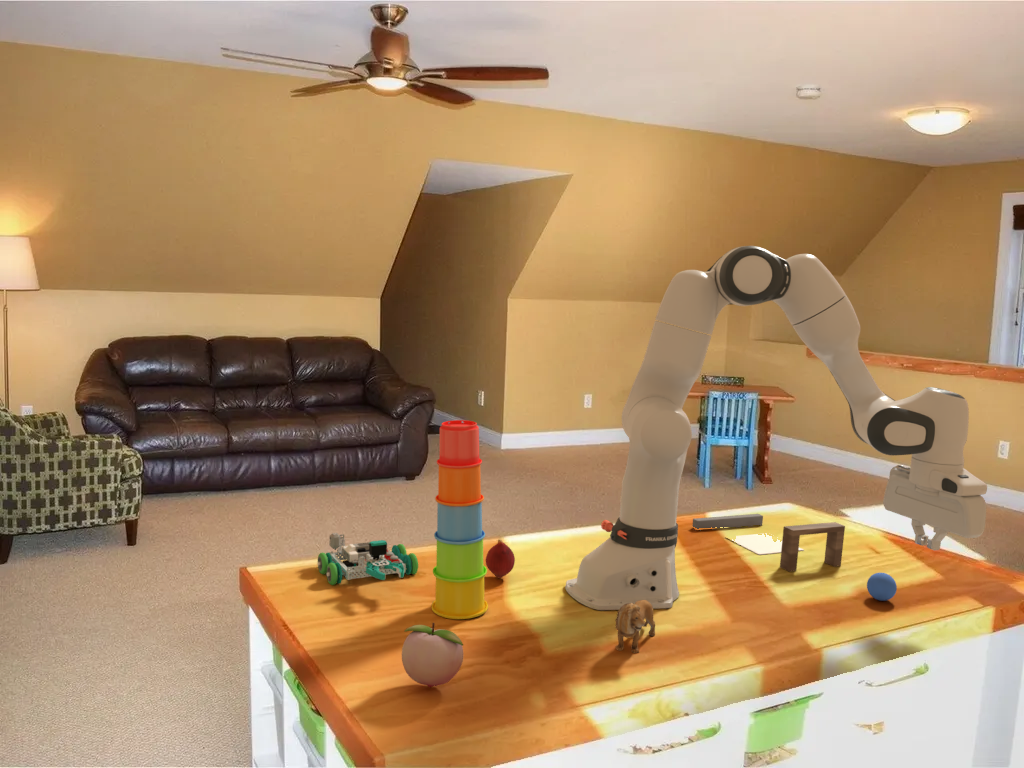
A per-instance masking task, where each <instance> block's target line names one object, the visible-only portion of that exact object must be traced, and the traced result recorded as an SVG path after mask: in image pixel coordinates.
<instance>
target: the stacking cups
mask: <svg viewBox="0 0 1024 768" xmlns="http://www.w3.org/2000/svg"><path fill="white" fill-rule="evenodd" d="M477 424H478V423H477V422H476V421H472V420H466V419H455V420H453V419H452V420H447V421H444V422H442V423H441V425H440V427H439V459H437V460H436V464H437V465H438V484H437V486H438V490H437V491H438V494H437V495H436V496H435V497H434V500H435V502H437V524H436V525H437V526H436V528H437V529H436V531H435V532H434V534H433V535H434V536H433V537H434V539H435V540H436V564H435V566H434V567H433V569H432V574H433V576H434V577H435V600H433V602H432V604H431V610H432V612H433V613H435V615H437V616H439V617H442V618H444V619H451V620H470V619H475V618H477V617H480V616H482V615H483V614H485V613H486V612H487V610H488V608H489V605H488V602H487V600H485V576H486V575H487V573H488V567H487V566H485V565H484V538H485V537H486V533H485V531H484V530H483V509H482V506H483V505H482V504H483V502H484V499H485V496H484V495H483V494H482V491H481V490H482V486H481V485H482V483H481V481H482V480H481V479H482V478H481V476H482V475H481V464H482V463H483V460H482V459H481V458H480V427H479V426H478V425H477Z"/></svg>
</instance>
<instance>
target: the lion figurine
mask: <svg viewBox="0 0 1024 768" xmlns="http://www.w3.org/2000/svg"><path fill="white" fill-rule="evenodd" d="M648 625H649V626H650V629H649V631H648V633H647V634H648V635H649V636H650V637H653V636H655V635H656V622H655V620H654V608H653V607H652V605H651V603H649V602H648V601H647V600H640V601H637V602H635V604H633V603H626V604H624V605H623V606H622V607H621V608H620V610H617V613H616V617H615V630H616V631H617V641H618V644H617V645H616V646H615V650H617V651H619V652H620V651H621V652H622V651H623V650H624V647H625V646H624V638H627V639H628V638H629V639H630V638H632V642H631V646H630V648H631V652H632V653H634V654H637V653H640V650H639V639H640V632H641V631H642V628H644V627H645V628H646V627H647V626H648Z"/></svg>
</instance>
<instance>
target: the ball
mask: <svg viewBox="0 0 1024 768" xmlns="http://www.w3.org/2000/svg"><path fill="white" fill-rule="evenodd" d="M897 587H898V586H897V583H896V580H895V578H894V577H892V576H891V575H890V574H888V573H885V572H876V573H873V574H871V576H870V577H868V578H867V583H866V590H867V592H868V593H869V595H870V596H871V597H872V598H874V599H875V600H877V601H881V602H882V601H883V602H885V601H889V600H891V599H893V598H894V596H895V595H896V593H897Z"/></svg>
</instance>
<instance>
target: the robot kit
mask: <svg viewBox="0 0 1024 768" xmlns="http://www.w3.org/2000/svg"><path fill="white" fill-rule="evenodd" d="M329 547H331V549H332V550H333V549H334V550H335V552H334V551H331V550H330V552H320V553H319V554H318V557H317V568H318V572H319V573H320V574H321V575H326V578H327V582H328V584H329V585H331V586H336V585H337V584H341V583H342V581H343V577H345V579H346V580H348V581H350V580H355V579H362V578H369V577H373V578H375V579H376V580H377V579H378V580H382V581H385V580H386V575H392V574H398V577H399V578H402V579H403V578H404V577H405V574H406V575H407V576H409V575H410V574H411V575H416V574H417V573H418V570H419V561H418V558H417V557H418V556H417V555H416V554H415V553H413V552H411V553H409V554H408V553H407V549H406V546H405V545H404V544H402V543H398V544H393V545H392V547H391V550H390V549H388V542H387V541H386V540H385V539H384V540H383V539H381V540H372V541H368V542H361V543H349V544H348V545H346V538H345V534H339V533H338V532H332V533H331V534H330V535H329ZM336 550H337V551H336Z"/></svg>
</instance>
